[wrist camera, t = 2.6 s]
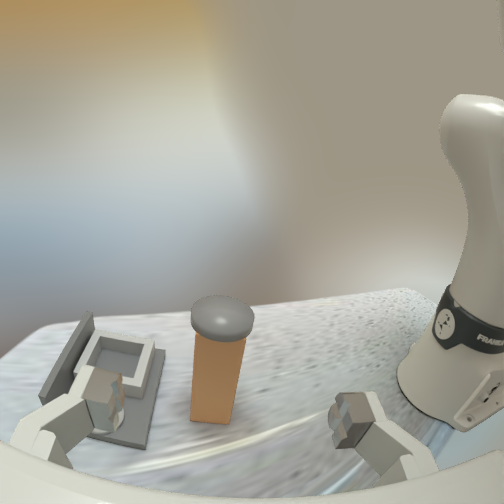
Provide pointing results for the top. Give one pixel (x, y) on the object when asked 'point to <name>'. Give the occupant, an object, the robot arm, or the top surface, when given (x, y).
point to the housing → (118, 360)
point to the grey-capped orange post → (217, 355)
